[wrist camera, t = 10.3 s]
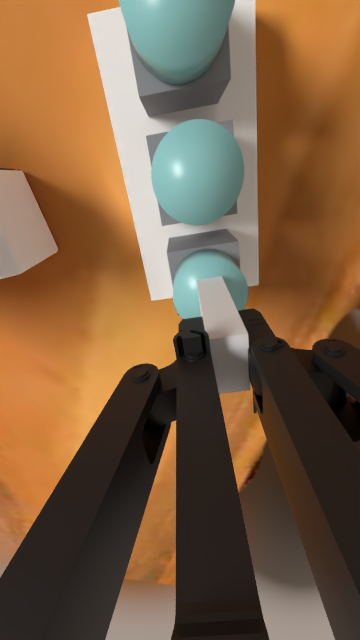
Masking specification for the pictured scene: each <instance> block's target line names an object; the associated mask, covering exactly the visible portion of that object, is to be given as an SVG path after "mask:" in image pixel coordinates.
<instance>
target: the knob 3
mask: <svg viewBox="0 0 360 640" xmlns="http://www.w3.org/2000/svg"><path fill="white" fill-rule="evenodd" d="M219 276H222V278H223V280H224V282H225V284H226V287H227V289H228V291H229V293H230V295H231V298H232V300H233V302H234V304H235V306H236V308H237V311H239V310H243V309H244V307H245V305H246V303H247V299H248V285H247V281H246V279H245V277H244V275H243V274H242V272H241V271H240V269H239V268H238V266H237V265H236V263H235V262H234V261H233V259H232V258H231V257H230V256H228V255H227V254H226V253H224V252H222V251H219V250H216V249H200V250H197V251H194V252H192V253H190V254H189V255H187V256H186V257H185V258H184V259H183V260H182V261H181V262H180V263H179V265H178V267H177V269H176V271H175V274H174V284H173V302H174V306H175V308H176V310H177V312H178V314H179V315H180V316H181V318H182V319H188V318H195V317H201V312H200V304H199V296H198V289H197V281H196V280H199V279H206V278H213V277H219Z"/></svg>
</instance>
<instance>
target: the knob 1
mask: <svg viewBox="0 0 360 640" xmlns="http://www.w3.org/2000/svg"><path fill="white" fill-rule="evenodd" d="M119 4H120V8H121V11H122V14H123V17H124V20H125V23H126V26H127V29H128V32H129V35H130V38H131V41H132V44H133V47H134V50H135V52H136V54H137V56H138V58H139V60H140V61H141V63H142V64H143V66H144V67H145V68H146V69H147V70H148V71H149V73H150V74H152V75H153V76H154V77H155V78H157V79H159V80H160V81H163V82H165V83H168V84H173V85H181V84H186V83H190V82H192V81H194V80H196V79H198V78H199V77H201V76H202V75H203V74H204V73H205V72H206V71H207V70H208V69H209V68H210V66H211V65H212V64H213V62H214V61H215V59H216V57H217V55H218V53H219V50H220V48H221V45H222V42H223V39H224V36H225V33H226V30H227V27H228V24H229V21H230V18H231V15H232V11H233V8H234V4H235V0H119Z"/></svg>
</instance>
